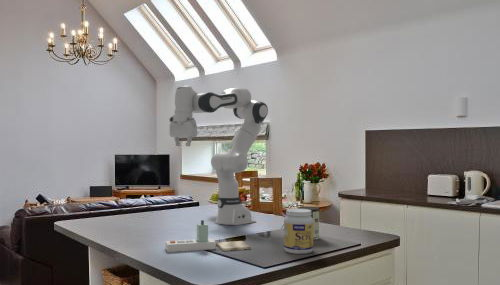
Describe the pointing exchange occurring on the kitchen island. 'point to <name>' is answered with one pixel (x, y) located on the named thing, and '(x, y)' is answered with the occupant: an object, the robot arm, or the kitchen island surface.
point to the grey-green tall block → (202, 232)
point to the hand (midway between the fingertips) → (182, 146)
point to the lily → (284, 216)
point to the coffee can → (316, 220)
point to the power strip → (189, 245)
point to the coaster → (233, 245)
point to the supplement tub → (298, 231)
